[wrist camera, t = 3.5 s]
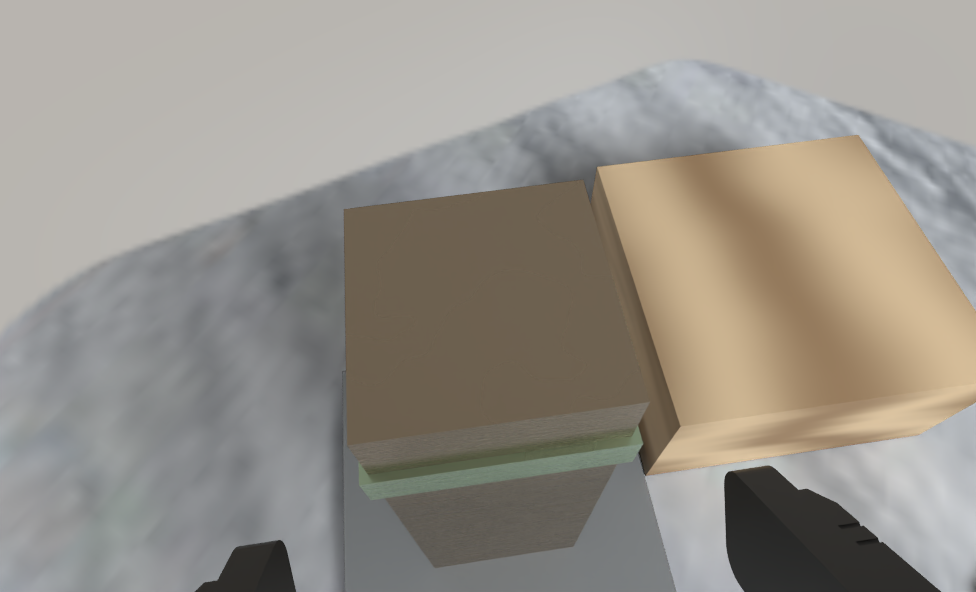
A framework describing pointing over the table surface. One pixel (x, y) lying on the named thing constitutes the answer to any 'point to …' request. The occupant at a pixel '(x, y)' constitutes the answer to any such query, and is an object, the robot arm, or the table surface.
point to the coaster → (516, 579)
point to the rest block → (780, 303)
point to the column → (487, 368)
